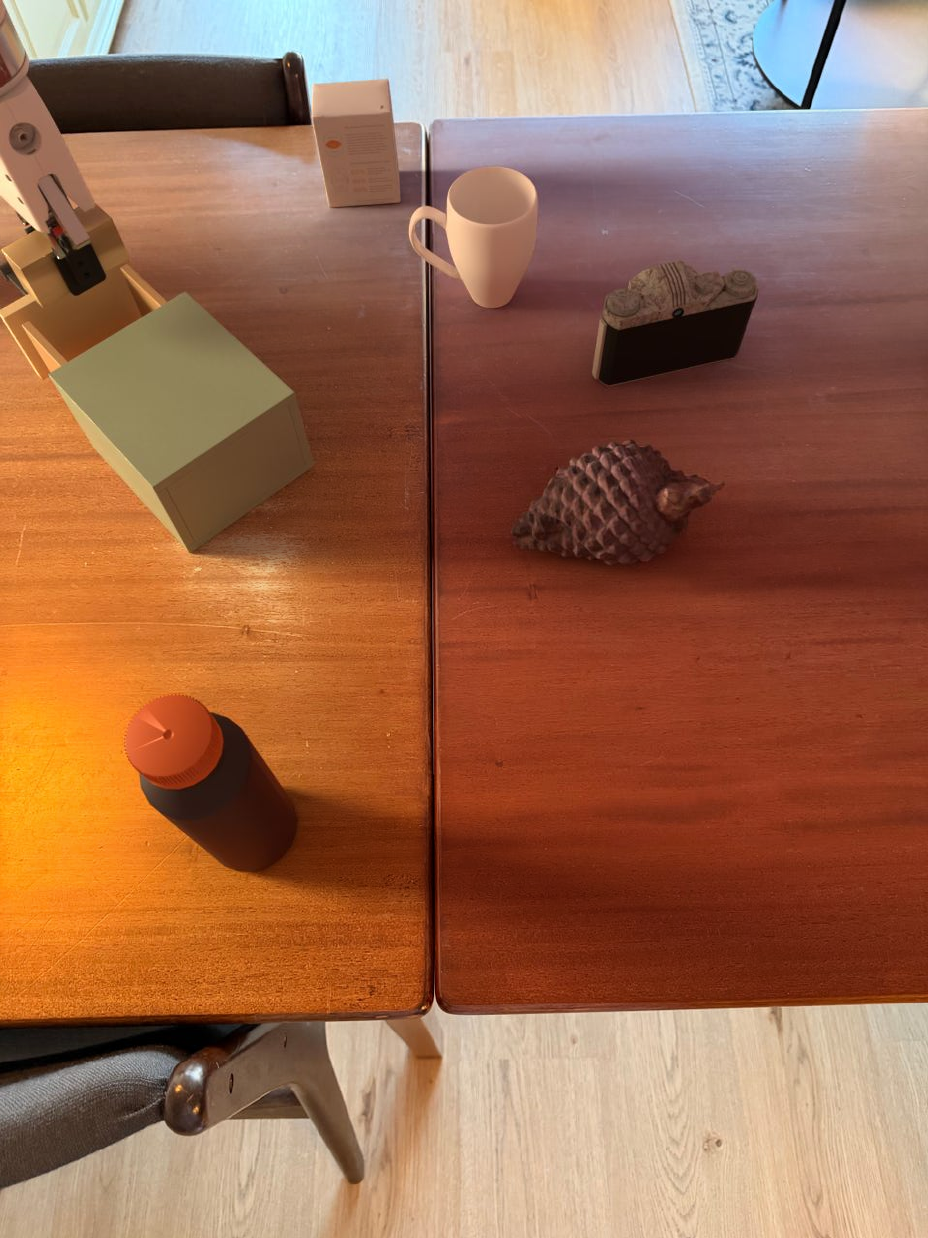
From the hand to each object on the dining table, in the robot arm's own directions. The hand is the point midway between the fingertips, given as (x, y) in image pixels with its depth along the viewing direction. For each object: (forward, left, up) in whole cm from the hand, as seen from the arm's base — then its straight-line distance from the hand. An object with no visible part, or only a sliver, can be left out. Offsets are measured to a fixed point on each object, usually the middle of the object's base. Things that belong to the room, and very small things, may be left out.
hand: (75, 271), depth 76 cm
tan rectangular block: (0, 0, 0) cm, 0 cm away
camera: (+32, +40, -13) cm, 53 cm away
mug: (+14, +32, -13) cm, 37 cm away
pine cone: (+43, +21, -13) cm, 50 cm away
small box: (-6, +34, -13) cm, 37 cm away
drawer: (-3, 0, -12) cm, 13 cm away
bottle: (+43, -17, -13) cm, 48 cm away
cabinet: (+12, 0, -13) cm, 18 cm away
